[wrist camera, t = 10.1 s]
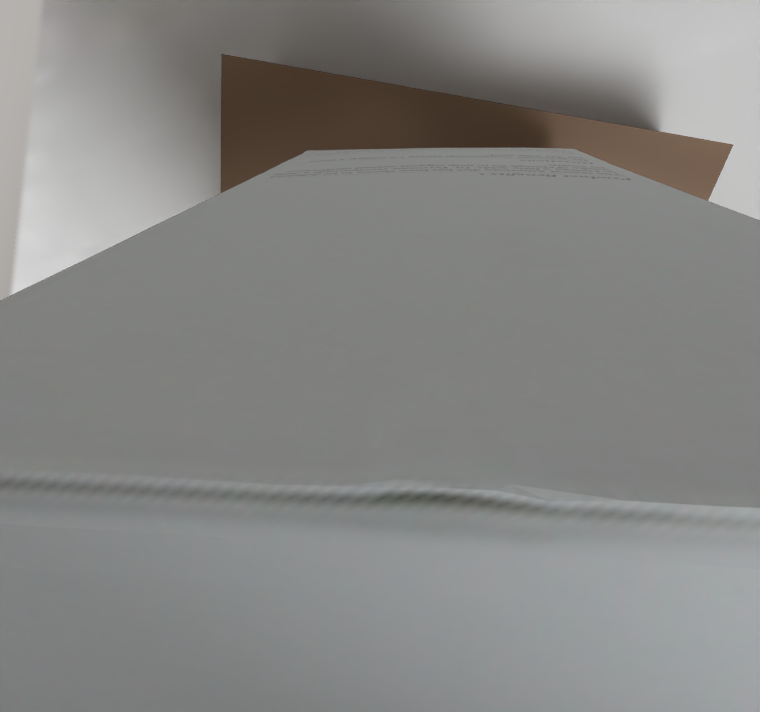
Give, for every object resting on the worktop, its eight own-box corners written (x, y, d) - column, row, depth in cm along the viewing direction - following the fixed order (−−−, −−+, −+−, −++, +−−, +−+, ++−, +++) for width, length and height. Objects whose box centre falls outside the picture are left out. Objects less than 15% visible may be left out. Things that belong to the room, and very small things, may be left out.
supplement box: (319, 382, 16) (86, 976, 5) (302, 143, 13) (-473, 436, 2) (543, 392, 16) (803, 1091, 5) (589, 144, 12) (1988, 595, 1)
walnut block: (273, 68, 18) (221, 54, 13) (656, 135, 18) (733, 144, 13) (258, 392, 24) (219, 457, 20) (538, 444, 24) (562, 520, 20)
